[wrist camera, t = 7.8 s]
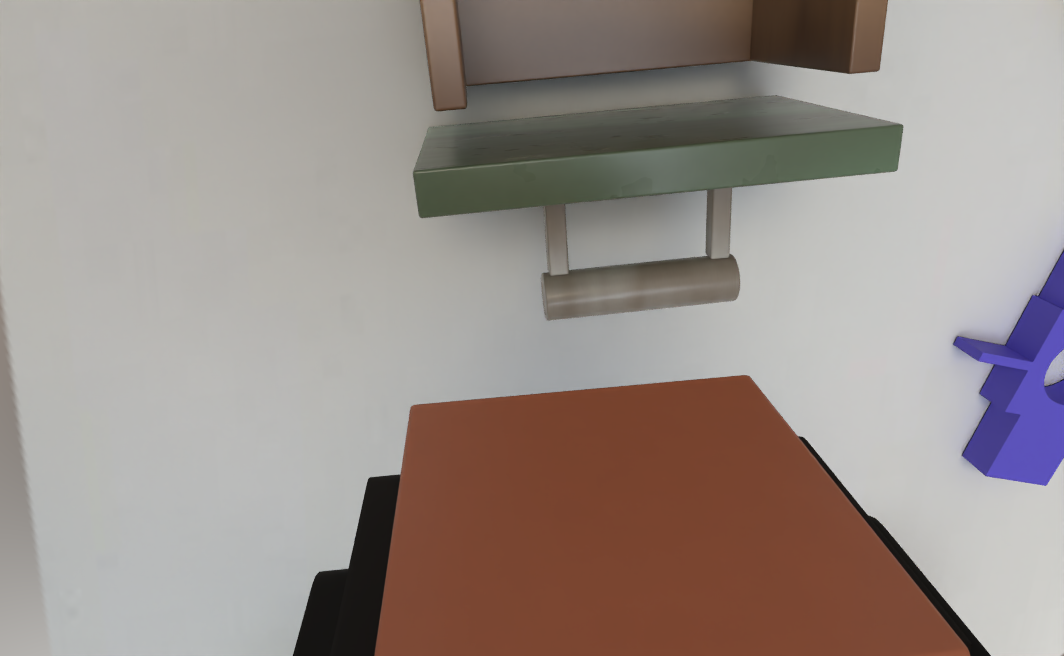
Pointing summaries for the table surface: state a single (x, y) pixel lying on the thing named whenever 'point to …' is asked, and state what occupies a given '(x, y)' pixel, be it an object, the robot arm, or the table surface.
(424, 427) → the block
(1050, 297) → the puzzle piece
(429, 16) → the drawer
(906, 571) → the robot arm
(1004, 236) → the table surface
